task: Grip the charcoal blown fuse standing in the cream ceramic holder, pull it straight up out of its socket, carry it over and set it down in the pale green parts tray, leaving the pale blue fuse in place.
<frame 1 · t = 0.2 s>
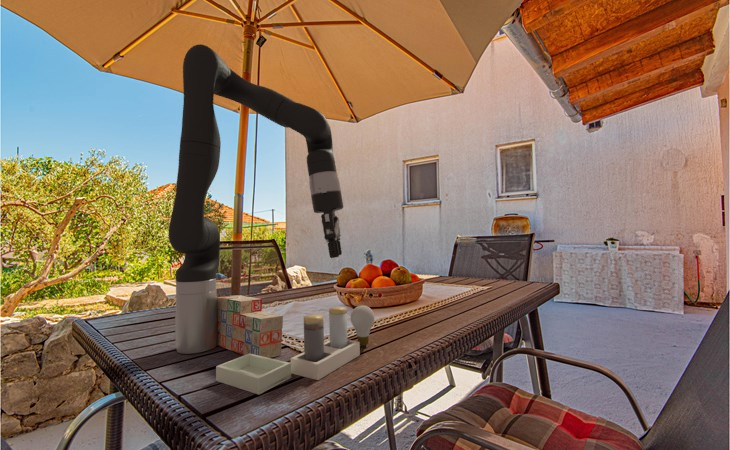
hand: (336, 256, 85), 22 cm above the table, tool pointing down, fingers open, 8 cm apart
parts tray: (253, 379, 66), on the table
stack of blocks: (246, 350, 84), on the table, touching arm
blown fuse: (314, 370, 69), resting in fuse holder
light bulb: (363, 347, 84), on the table
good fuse: (339, 357, 77), resting in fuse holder
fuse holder: (327, 363, 73), on the table
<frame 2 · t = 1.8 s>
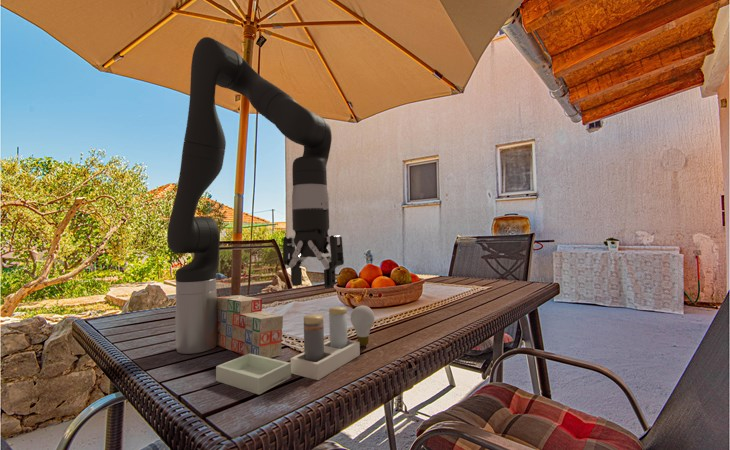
hand: (312, 286, 70), 17 cm above the table, tool pointing down, fingers open, 8 cm apart
nothing on the table moved.
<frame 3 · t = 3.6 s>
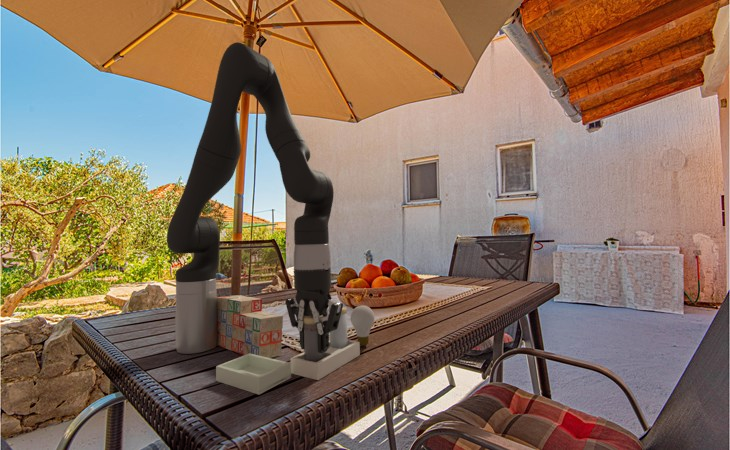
hand: (314, 349, 70), 4 cm above the table, tool pointing down, fingers closed on blown fuse, 4 cm apart
blown fuse: (314, 370, 69), resting in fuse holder, touching gripper
everything else where it was.
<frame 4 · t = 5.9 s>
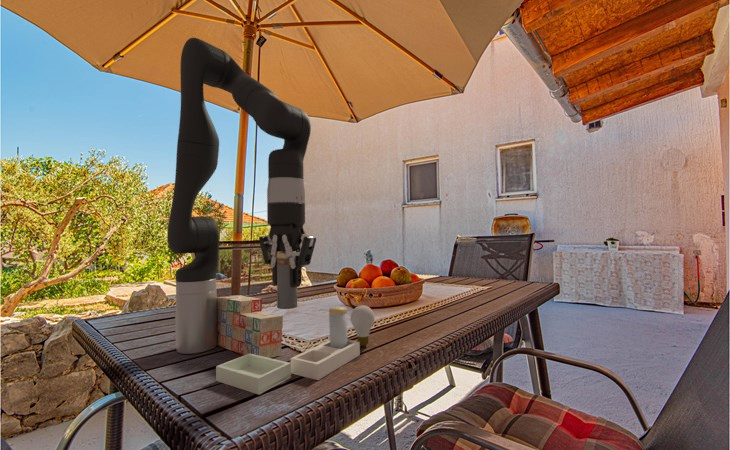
hand: (287, 285, 69), 18 cm above the table, tool pointing down, fingers closed on blown fuse, 4 cm apart
blown fuse: (287, 306, 69), point 13 cm above the table, touching gripper
everything else where it was.
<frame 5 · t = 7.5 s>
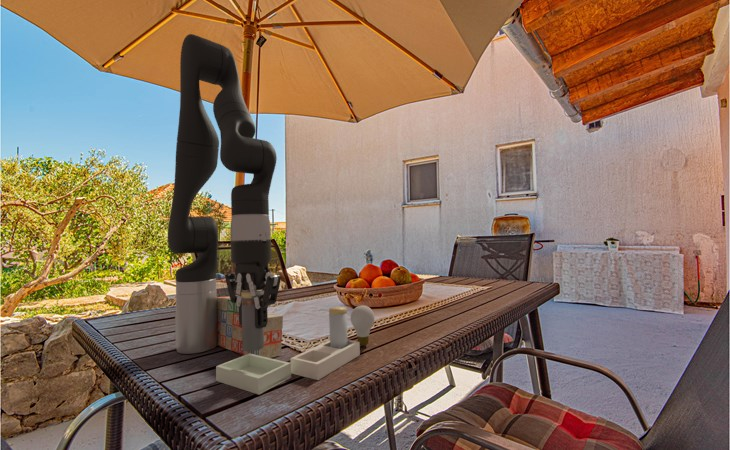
hand: (253, 325, 66), 10 cm above the table, tool pointing down, fingers closed on blown fuse, 4 cm apart
blown fuse: (253, 347, 66), point 6 cm above the table, touching gripper
everything else where it was.
when the fingers open (6 cm above the table, at t = 8.5 s): blown fuse drops 1 cm, resting on parts tray.
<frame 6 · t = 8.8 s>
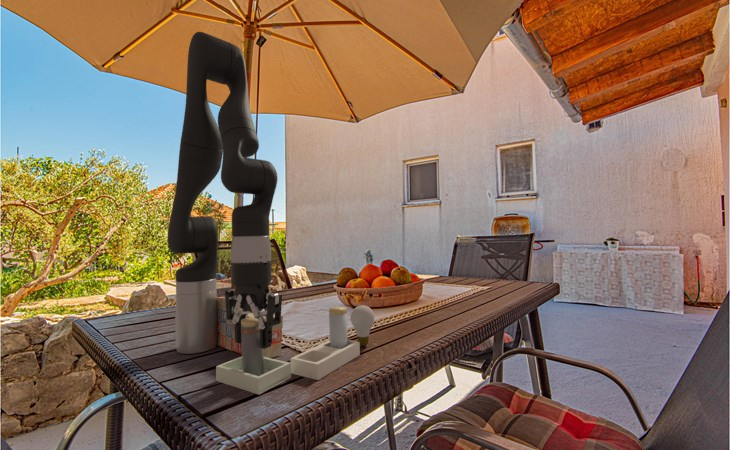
hand: (253, 344, 66), 7 cm above the table, tool pointing down, fingers open, 6 cm apart
blown fuse: (253, 375, 66), point 1 cm above the table, touching parts tray
everything else where it was.
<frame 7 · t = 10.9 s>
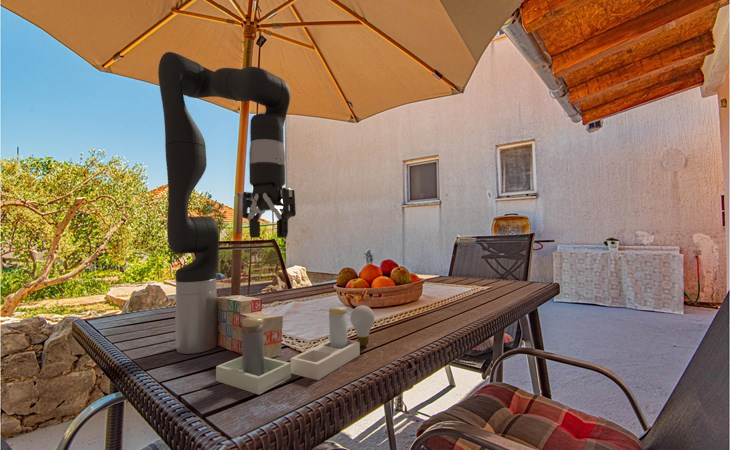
hand: (268, 237, 74), 27 cm above the table, tool pointing down, fingers open, 8 cm apart
nothing on the table moved.
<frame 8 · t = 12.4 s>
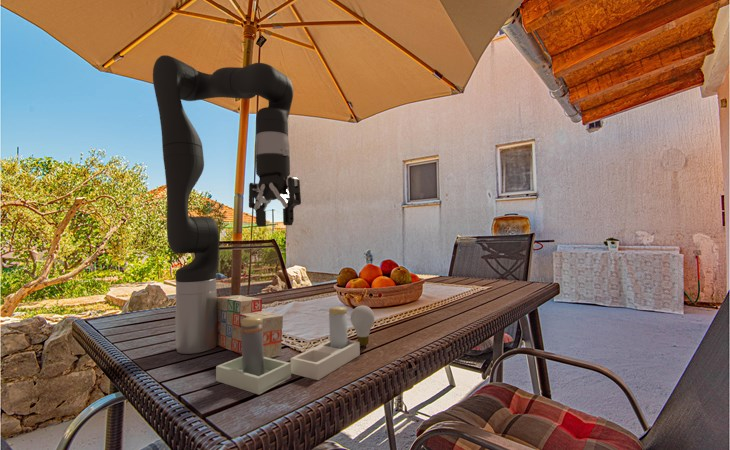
hand: (274, 225, 78), 30 cm above the table, tool pointing down, fingers open, 8 cm apart
nothing on the table moved.
at the end: blown fuse inside the target area on the parts tray (0.1 cm from its centre), point 0.6 cm above the parts tray's base; the gripper is holding nothing; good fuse moved 0.0 cm from its start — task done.
